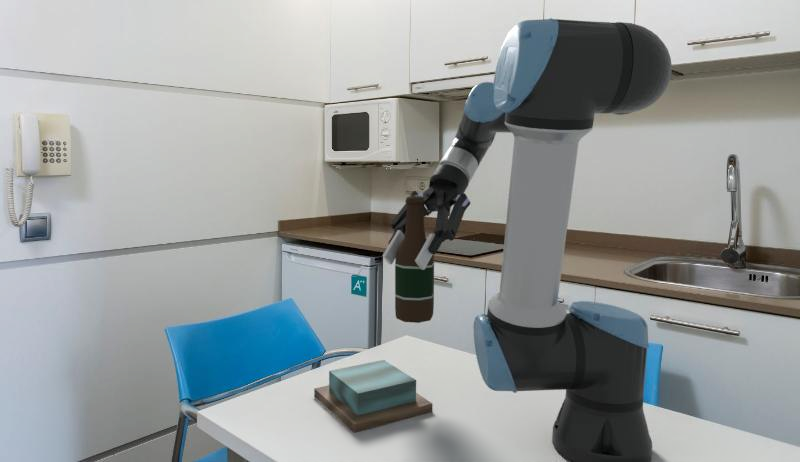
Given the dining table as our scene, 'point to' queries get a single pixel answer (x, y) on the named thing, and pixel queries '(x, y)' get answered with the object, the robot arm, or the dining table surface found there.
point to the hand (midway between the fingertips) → (403, 262)
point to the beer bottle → (413, 269)
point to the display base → (372, 416)
